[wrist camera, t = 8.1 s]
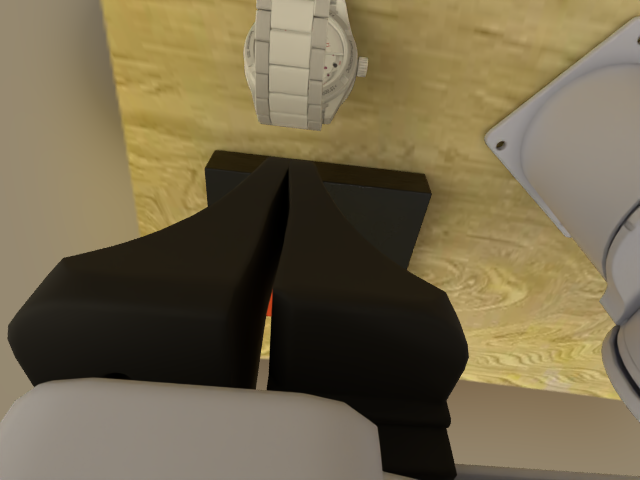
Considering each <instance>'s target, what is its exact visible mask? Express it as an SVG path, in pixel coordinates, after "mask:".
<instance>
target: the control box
mask: <svg viewBox="0 0 640 480" xmlns="http://www.w3.org/2000/svg"><path fill="white" fill-rule="evenodd" d="M268 157H270V156H262V155H253V154H244V153H235V152H227V151H218V150H215V151H214V153H213V155H212V156H211V158H210V160H209V162H208V163H207V165H206V167H205V179H206V191H207V202H208V207H209V206H210V205H212V204H213V203H215V202H217V201H218V200H220V199H221V198H222V197H224V196H225V195H226V194H228V193H229V192H230V191H232V190H233V189H234V188H235V187H237V186H238V185H239V184H240V183H241V182H242V181H243V180H245V179H246V178H247V177H248V176H249V175H250V174H251V173H252V172H253V171H254V170H255V169H257V168H258V167H259V166H260V165H261V164H262V163H263V162H264V161H265V160H266V159H267V158H268ZM278 158H279V157H278ZM287 159H288V158H287ZM296 160H297V159H296ZM313 162H314V161H313ZM314 163H315V165H316V167H317V170H318V173H319V175H320V177H321V180H322V182H323V184H324V186H325V187H326V189H327V191H328V193H329V194H330V196H331V198H332V199H333V201H334V202H335V204H336V205H337V207H338V208H339V210H340V211H341V212H342V214H343V215H344V216H345V218H346V219H347V220H348V221H349V223H350V224H351V225H352V226H353V227H354V228H355V229H356V230H357V231H358V232H359V233H360V234H361V235H362V236H363V237H364V238H365V239H366V240H367V241H368V242H370V243H371V244H372V245H373V246H374V247H375V248H377V249H378V250H379V251H380V252H381V253H383V254H384V255H385V256H387V257H388V258H389V259H391V260H392V261H394V262H395V263H397V264H398V265H400V266H401V267H403V268H404V269H406V270H407V267H408V264H409V261H410V258H411V255H412V252H413V249H414V246H415V243H416V240H417V237H418V234H419V231H420V228H421V225H422V222H423V219H424V216H425V213H426V210H427V207H428V204H429V201H430V198H431V195H432V193H431V190H430V187H429V185H428V182H427V179H426V176H425V174H419V173H410V172H401V171H392V170H384V169H375V168H366V167H358V166H349V165H340V164H331V163H323V162H314Z"/></svg>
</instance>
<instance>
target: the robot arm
mask: <svg viewBox="0 0 640 480" xmlns="http://www.w3.org/2000/svg"><path fill="white" fill-rule="evenodd" d="M639 37H640V16H637V17H634V18H633V19H631V20H630V21H628V22H627V23H626V24H624V25H623V26H622V27H621V28H619V29H618V30H617V31H615V32H614V33H613V34H612V35H610V36H609V37H608V38H607V39H605V40H604V41H603V42H601V43H600V44H599V45H598V46H596V47H595V48H594V49H592V50H591V51H590V52H589V53H587V54H586V55H585V56H584V57H582V58H581V59H580V60H578V61H577V62H576V63H575V64H573V65H572V66H571V67H569V68H568V69H567V70H566V71H564V72H563V73H562V74H561V75H559V76H558V77H557V78H555V79H554V80H553V81H552V82H550V83H549V84H548V85H546V86H545V87H544V88H543V89H541V90H540V91H539V92H537V93H536V94H535V95H534V96H532V97H531V98H530V99H529V100H527V101H526V102H525V103H523V104H522V105H521V106H520V107H518V108H517V109H516V110H514V111H513V112H512V113H511V114H509V115H508V116H507V117H506V118H504V119H503V120H502V121H500V122H499V123H498V124H497V125H495V126H494V127H493V128H491V129H490V130H489V131H488V132H487V133H486V135H485V137H484V141H485V143H486V144H487V146H488V147H489V148H490V149H491V150H492V152H493V153H494V154H495V155H496V156H497V157H498V159H499V160H500V161H501V162H502V163H503V164H504V166H505V167H506V168H507V169H508V170H509V171H510V173H511V174H512V175H513V176H514V177H515V178H516V180H517V181H518V182H519V183H520V184H521V185H522V187H523V188H524V189H525V190H526V191H527V192H528V194H529V195H530V196H531V197H532V198H533V199H534V201H535V202H536V203H537V204H538V205H539V206H540V208H541V209H542V210H543V211H544V212H545V213H546V215H547V216H548V217H549V218H550V219H551V220H552V222H553V223H554V224H555V225H556V226H557V227H558V229H559V230H560V231H561V232H562V233H563V234H564V236H566V237H569V238H571V237H572V238H573V239H574V241H575V242H576V243H577V244H578V246H579V247H580V248H581V250H582V251H583V252H584V253H585V255H586V256H587V257H588V259H589V260H590V261H591V262H592V264H593V265H594V266H595V268H596V269H597V270H598V271H599V273H600V274H601V275H602V277H603V278H604V279H605V280H606V282H607V283H608V284H607V289H606V291H605V293H604V295H603V296H602V298H601V299H600V301H599V302H600V303H601V304H602V306H603V307H604V309H605V310H606V311H607V313H608V314H609V316H610V317H611V318H612V320H613V321H614V323H615V324H616V326H614V327H613V328H612V329H611V330H610V331H609V332H608V333H607V335H606V337H605V339H604V340H603V344H602V350H601V352H602V361H603V364H604V367H605V370H606V373H607V375H608V377H609V379H610V381H611V383H612V385H613V387H614V389H615V390H616V392H617V393H618V395H619V396H620V398H621V399H622V401H623V402H624V403H625V405H626V406H627V408H628V409H629V410H630V412H631V413H632V414H633V415H634V417H635V418H636V419H637V420H638V421H639V422H640V42H639V43H638V39H639ZM501 141H504V144H503V145H502V146H501V147H496V145H497V144H498V143H499V142H501ZM272 290H273V291H272ZM271 294H272V314H271V336H270V359H269V377H268V384H267V390H256V383H257V376H258V369H259V362H260V355H261V348H262V341H263V334H264V327H265V320H266V315H267V310H268V306H269V302H270V298H271ZM8 341H9V344H10V346H11V348H12V351H13V353H14V355H15V358H16V359H17V361H18V362H19V364H20V366H21V367H22V369H23V370H24V372H25V373H26V375H27V377H28V378H29V380H30V381H31V383H32V384H33V386H34V388H33V389H32V390H30V391H28V392H27V393H26V394H24V395H23V396H21V397H20V398H18V399H17V400H15V402H14V403H13V405H12V406H11V407H10V409H9V410H8V412H7V413H6V415H5V417H4V418H3V419H2V421H1V422H0V480H640V476H628V475H612V474H599V473H584V472H569V471H554V470H539V469H524V468H509V467H495V466H479V465H464V464H455V463H454V459H453V455H452V450H451V446H450V442H449V438H448V434H447V429H446V428H448V427H449V426H450V424H451V417H450V413H449V409H448V406H447V401H446V400H447V399H448V397H449V395H450V393H451V392H452V390H453V388H454V387H455V385H456V383H457V382H458V380H459V378H460V376H461V375H462V373H463V371H464V369H465V367H466V364H467V361H468V358H469V354H468V344H467V341H466V338H465V335H464V333H463V330H462V327H461V324H460V322H459V319H458V317H457V315H456V312H455V310H454V308H453V306H452V304H451V303H450V301H449V298H448V296H447V294H446V292H444V291H443V290H441V289H439V288H437V287H435V286H433V285H432V284H430V283H428V282H426V281H424V280H423V279H421V278H419V277H417V276H415V275H413V274H412V273H410V272H409V271H407V270H406V269H404V268H403V267H401V266H400V265H398V264H397V263H395V262H394V261H392V260H391V259H389V258H388V257H387V256H385V255H384V254H383V253H381V252H380V251H379V250H378V249H377V248H375V247H374V246H373V245H372V244H371V243H370V242H368V241H367V240H366V239H365V238H364V237H363V236H362V235H361V234H360V233H359V232H358V231H357V230H356V229H355V228H354V227H353V226H352V225H351V224H350V223H349V221H348V220H347V219H346V218H345V216H344V215H343V214H342V212H341V211H340V210H339V208H338V207H337V205H336V204H335V202H334V201H333V199H332V198H331V196H330V194H329V193H328V191H327V189H326V187H325V186H324V184H323V182H322V180H321V177H320V175H319V173H318V170H317V167H316V165H315V163H314V162H313V161H306V160H296V159H287V158H278V157H268V158H267V159H266V160H265V161H264V162H263V163H262V164H261V165H260V166H259V167H258V168H257V169H255V170H254V171H253V172H252V173H251V174H250V175H249V176H248V177H247V178H246V179H245V180H243V181H242V182H241V183H240V184H239V185H238V186H237V187H235V188H234V189H233V190H232V191H230V192H229V193H228V194H226V195H225V196H224V197H222V198H221V199H220V200H218V201H217V202H215V203H213V204H212V205H210V206H209V207H207V208H205V209H203V210H202V211H200V212H198V213H196V214H195V215H193V216H191V217H189V218H186V219H184V220H182V221H180V222H178V223H175V224H173V225H171V226H169V227H167V228H164V229H162V230H160V231H157V232H154V233H152V234H149V235H146V236H143V237H140V238H137V239H134V240H131V241H128V242H125V243H122V244H119V245H115V246H111V247H107V248H103V249H99V250H95V251H92V252H87V253H83V254H79V255H75V256H70V257H66V258H63V259H62V260H61V261H60V262H59V263H58V264H57V265H56V267H55V268H54V269H53V270H52V271H51V272H50V273H49V274H48V276H47V277H46V278H45V279H44V280H43V282H42V283H41V284H40V285H39V287H38V288H37V289H36V290H35V292H34V293H33V294H32V295H31V297H30V298H29V299H28V300H27V301H26V303H25V304H24V305H23V306H22V308H21V309H20V310H19V311H18V313H17V314H16V315H15V317H14V318H13V319H12V321H11V322H10V324H9V325H8Z"/></svg>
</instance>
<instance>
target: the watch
mask: <svg viewBox="0 0 640 480" xmlns="http://www.w3.org/2000/svg"><path fill="white" fill-rule="evenodd" d="M256 7H257V9H258V10H257V11H256V21H255V23H254V24H253V26H252V27H251V29H250V31H249V33H248V35H247V37H246V40H245V45H244V65H245V66H244V68H245V76H246V80H247V83H248V86H249V88H250V90H251V92H252V97H253V101H254V106H255V110H256V114H257V118H258V121H259V122H260V124H266V125H274V126H283V127H291V128H299V129H309V130H317V131H321V127H322V124H330V123H331V121H332V120H333V118H334V116H335V114H336V112H337V111H338V109H339V107H340V106H341V104H343V102H345V100H346V98H348V96H349V94H350V93H351V91H352V88H353V86H354V82H355V78H356V76H359V77H365V76H366V73H367V68H368V58H366V57H359V58H358V54H357V46H356V42H355V40H354V37H353V35H352V31H351V27H350V23H349V19H348V13H347V7H346V2H345V0H257V4H256ZM357 59H358V60H357Z"/></svg>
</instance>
